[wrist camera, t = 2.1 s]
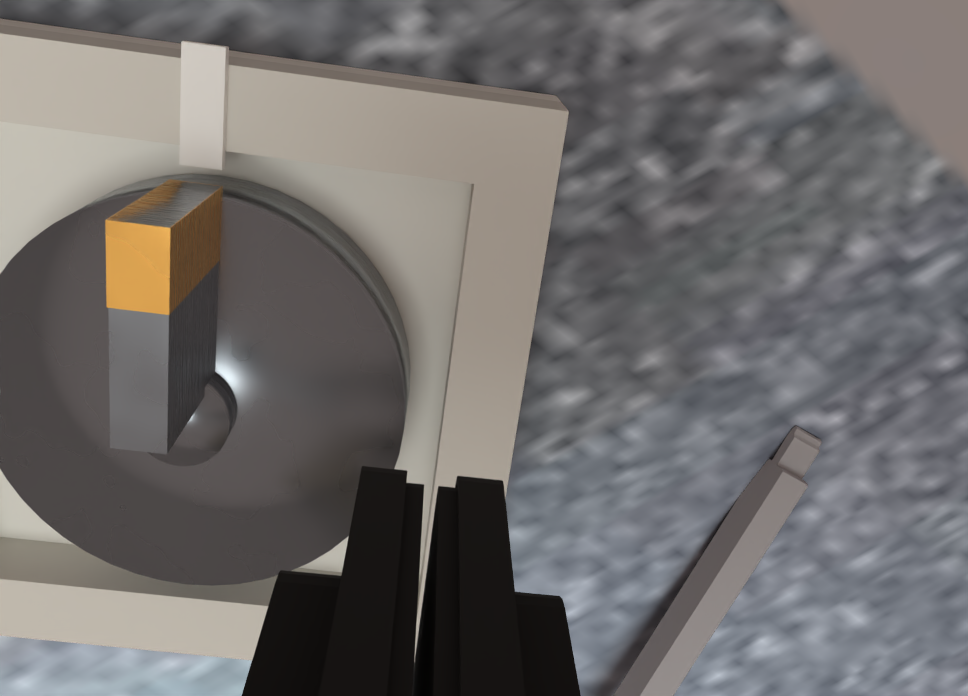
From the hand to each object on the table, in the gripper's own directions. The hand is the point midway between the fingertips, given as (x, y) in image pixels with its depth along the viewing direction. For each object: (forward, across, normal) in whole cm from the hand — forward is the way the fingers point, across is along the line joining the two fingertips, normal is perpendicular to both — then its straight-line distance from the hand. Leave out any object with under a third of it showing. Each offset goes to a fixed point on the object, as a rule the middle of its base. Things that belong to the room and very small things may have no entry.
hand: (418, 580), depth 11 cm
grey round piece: (+15, +6, +4) cm, 17 cm away
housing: (+17, +6, +4) cm, 18 cm away
